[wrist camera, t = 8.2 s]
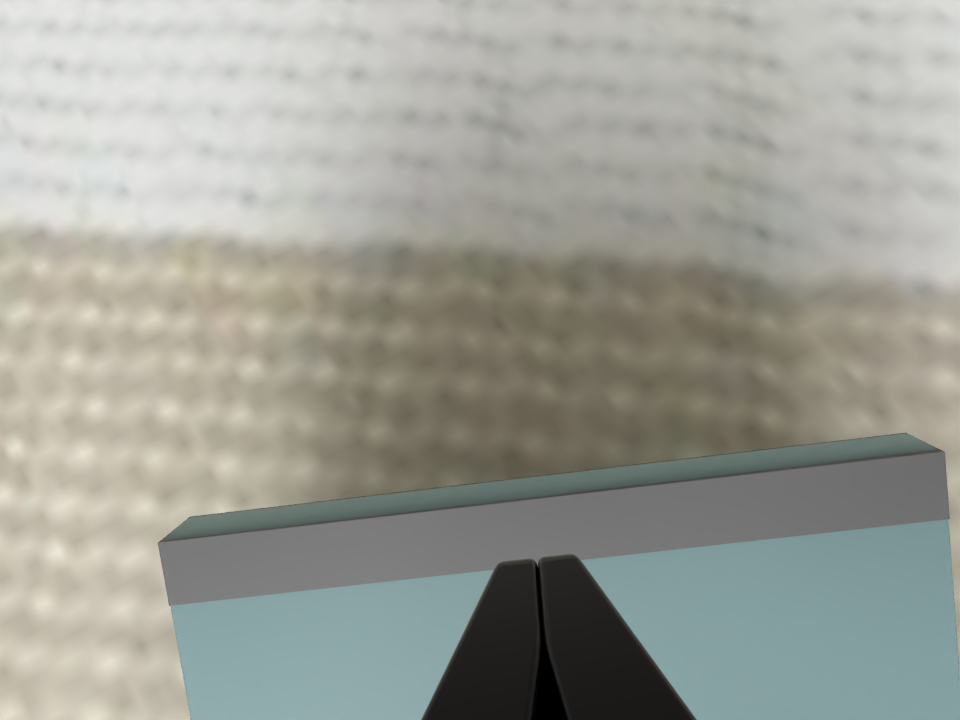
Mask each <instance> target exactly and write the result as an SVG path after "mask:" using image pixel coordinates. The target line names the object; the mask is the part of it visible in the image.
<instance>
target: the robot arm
mask: <svg viewBox="0 0 960 720" xmlns="http://www.w3.org/2000/svg"><path fill="white" fill-rule="evenodd" d="M421 720H697V719H696V718H695V716H694V715H693V714H692V712H691V711H690V710H689V708H688V707H687V705H686V704H685V703H684V701H683V700H682V699H681V697H680V696H679V694H678V693H677V692H676V690H675V689H674V688H673V686H672V685H671V683H670V682H669V681H668V679H667V678H666V677H665V675H664V674H663V672H662V671H661V670H660V668H659V667H658V666H657V664H656V663H655V661H654V660H653V659H652V657H651V656H650V655H649V653H648V652H647V650H646V649H645V648H644V646H643V645H642V644H641V642H640V641H639V640H638V638H637V637H636V635H635V634H634V633H633V631H632V630H631V629H630V627H629V626H628V624H627V623H626V622H625V620H624V619H623V618H622V616H621V615H620V613H619V612H618V611H617V609H616V608H615V607H614V605H613V604H612V602H611V601H610V600H609V598H608V597H607V596H606V594H605V593H604V591H603V590H602V589H601V587H600V586H599V585H598V583H597V582H596V580H595V579H594V578H593V576H592V575H591V574H590V572H589V571H588V569H587V568H586V567H585V565H584V564H583V563H582V561H581V560H580V559H579V558H578V557H577V556H576V555H574V554H566V555H557V556H548V557H542V558H541V559H539V561H538V566H537V563H536V562H535V560H533V559H521V560H512V561H504V562H500V563H499V564H497V566H496V567H495V569H494V571H493V573H492V575H491V577H490V579H489V581H488V583H487V585H486V587H485V589H484V591H483V593H482V595H481V597H480V599H479V601H478V603H477V606H476V608H475V610H474V612H473V614H472V616H471V618H470V620H469V622H468V624H467V626H466V628H465V630H464V632H463V634H462V636H461V638H460V641H459V643H458V645H457V647H456V649H455V651H454V653H453V655H452V657H451V659H450V661H449V663H448V665H447V667H446V669H445V671H444V673H443V676H442V678H441V680H440V682H439V684H438V686H437V688H436V690H435V692H434V694H433V696H432V698H431V700H430V702H429V704H428V706H427V708H426V711H425V713H424V715H423V717H422V719H421Z"/></svg>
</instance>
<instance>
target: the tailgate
mask: <svg viewBox="0 0 960 720" xmlns="http://www.w3.org/2000/svg"><path fill="white" fill-rule="evenodd" d="M948 519H949V505H948V491H947V477H946V463H945V452H944V451H942V450H940V449H937V448H935V447H933V446H931V445H929V444H927V443H925V442H923V441H921V440H919V439H917V438H915V437H913V436H911V435H909V434H907V433H901V434H892V435H884V436H875V437H867V438H858V439H850V440H841V441H833V442H824V443H816V444H807V445H799V446H790V447H782V448H773V449H764V450H756V451H747V452H739V453H730V454H722V455H713V456H705V457H696V458H688V459H679V460H671V461H662V462H654V463H645V464H636V465H628V466H619V467H611V468H602V469H594V470H585V471H577V472H568V473H560V474H551V475H543V476H534V477H526V478H517V479H509V480H500V481H491V482H483V483H474V484H466V485H457V486H449V487H440V488H432V489H423V490H415V491H406V492H398V493H389V494H381V495H372V496H363V497H355V498H346V499H338V500H329V501H321V502H312V503H304V504H295V505H287V506H278V507H270V508H261V509H253V510H244V511H235V512H227V513H218V514H210V515H201V516H193V517H189V518H188V519H187V520H185V521H184V522H183V523H182V524H181V525H179V526H178V527H177V528H176V529H174V530H173V531H172V532H171V533H170V534H168V535H167V536H166V537H165V538H163V539H162V540H161V541H160V542H159V543H158V546H159V552H160V557H161V563H162V568H163V574H164V579H165V585H166V590H167V596H168V601H169V606H171V611H172V617H173V622H174V628H175V633H176V639H177V644H178V650H179V655H180V661H181V666H182V672H183V678H184V683H185V689H186V694H187V700H188V705H189V711H190V716H191V720H421V719H422V717H423V715H424V713H425V711H426V708H427V706H428V704H429V702H430V700H431V698H432V696H433V694H434V692H435V690H436V688H437V686H438V684H439V682H440V680H441V678H442V676H443V673H444V671H445V669H446V667H447V665H448V663H449V661H450V659H451V657H452V655H453V653H454V651H455V649H456V647H457V645H458V643H459V641H460V638H461V636H462V634H463V632H464V630H465V628H466V626H467V624H468V622H469V620H470V618H471V616H472V614H473V612H474V610H475V608H476V606H477V603H478V601H479V599H480V597H481V595H482V593H483V591H484V589H485V587H486V585H487V583H488V581H489V579H490V577H491V575H492V573H493V571H494V569H495V567H496V566H497V564H499V563H500V562H504V561H512V560H521V559H533V560H535V562H536V563H537V566H538V561H539V559H541V558H542V557H548V556H557V555H566V554H574V555H576V556H577V557H578V558H579V559H580V560H581V561H582V563H583V564H584V565H585V567H586V568H587V569H588V571H589V572H590V574H591V575H592V576H593V578H594V579H595V580H596V582H597V583H598V585H599V586H600V587H601V589H602V590H603V591H604V593H605V594H606V596H607V597H608V598H609V600H610V601H611V602H612V604H613V605H614V607H615V608H616V609H617V611H618V612H619V613H620V615H621V616H622V618H623V619H624V620H625V622H626V623H627V624H628V626H629V627H630V629H631V630H632V631H633V633H634V634H635V635H636V637H637V638H638V640H639V641H640V642H641V644H642V645H643V646H644V648H645V649H646V650H647V652H648V653H649V655H650V656H651V657H652V659H653V660H654V661H655V663H656V664H657V666H658V667H659V668H660V670H661V671H662V672H663V674H664V675H665V677H666V678H667V679H668V681H669V682H670V683H671V685H672V686H673V688H674V689H675V690H676V692H677V693H678V694H679V696H680V697H681V699H682V700H683V701H684V703H685V704H686V705H687V707H688V708H689V710H690V711H691V712H692V714H693V715H694V716H695V718H696V719H697V720H960V674H959V660H958V647H957V633H956V619H955V605H954V591H953V578H952V564H951V550H950V536H949V522H948Z"/></svg>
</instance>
